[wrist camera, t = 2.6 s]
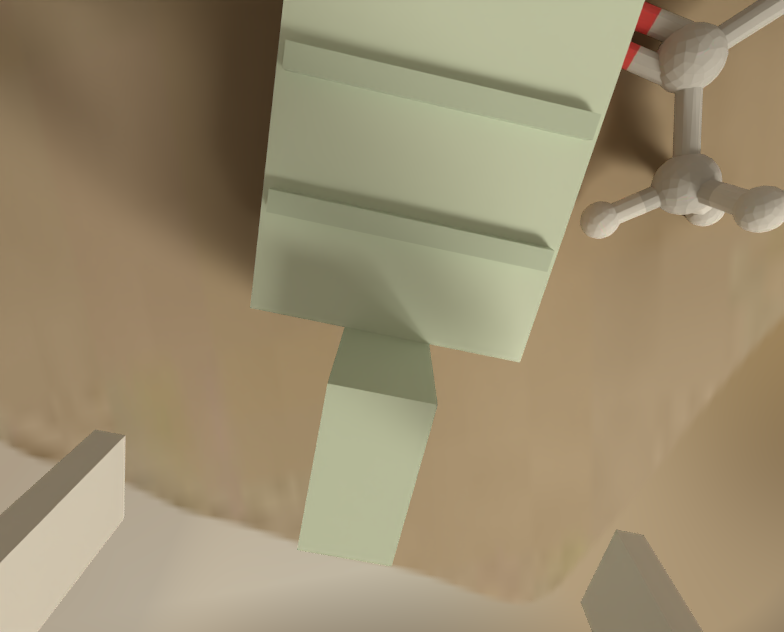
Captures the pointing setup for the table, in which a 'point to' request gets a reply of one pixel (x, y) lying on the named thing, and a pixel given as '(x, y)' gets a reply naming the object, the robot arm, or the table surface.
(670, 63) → the molecular model
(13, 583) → the robot arm
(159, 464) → the table surface
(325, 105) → the ridged block with tab
